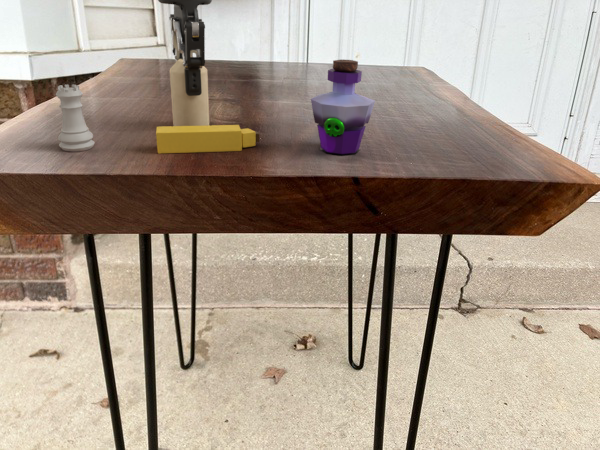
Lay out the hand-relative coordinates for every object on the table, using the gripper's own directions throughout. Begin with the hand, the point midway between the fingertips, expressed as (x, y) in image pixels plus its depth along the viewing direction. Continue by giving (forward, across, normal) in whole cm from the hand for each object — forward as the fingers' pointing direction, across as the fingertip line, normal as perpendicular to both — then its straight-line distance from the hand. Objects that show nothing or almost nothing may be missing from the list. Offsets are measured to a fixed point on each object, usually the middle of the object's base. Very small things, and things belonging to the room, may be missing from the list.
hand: (189, 90), depth 79 cm
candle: (+6, 0, 0) cm, 6 cm away
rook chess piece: (+6, +7, -17) cm, 19 cm away
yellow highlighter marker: (+5, +12, 0) cm, 13 cm away
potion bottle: (+6, +17, +17) cm, 25 cm away
